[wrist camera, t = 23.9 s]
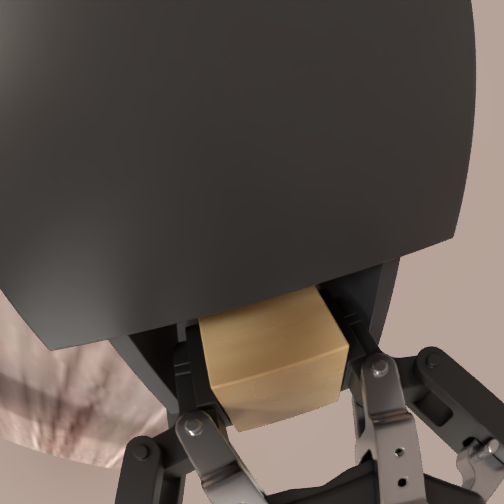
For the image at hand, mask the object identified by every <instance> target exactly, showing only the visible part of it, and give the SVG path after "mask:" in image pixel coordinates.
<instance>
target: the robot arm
mask: <svg viewBox="0 0 504 504" xmlns="http://www.w3.org/2000/svg"><path fill="white" fill-rule="evenodd" d="M318 292H319V293H320V295H321V297H322V298H323V300H324V302H325V304H326V305H327V307H328V309H329V311H330V312H331V314H332V316H333V317H334V319H335V321H336V323H337V324H338V326H339V328H340V330H341V331H342V333H343V335H344V337H345V339H346V340H347V342H348V344H349V351H348V356H347V361H346V366H345V371H344V376H343V381H342V385H341V390H342V391H343V390H345V389H348V388H349V389H350V391H351V393H352V406H353V415H354V424H355V435H356V445H355V463H356V466H355V467H352V468H350V469H348V470H346V471H345V472H343V473H341V474H340V475H339V476H337V477H336V478H334V479H333V480H331V481H330V482H328V483H326V484H325V485H323V486H320V487H312V488H301V489H290V490H287V491H283V492H279V493H276V494H272V495H267V494H266V493H265V491H264V490H263V489H262V487H261V486H260V485H259V483H258V482H257V481H256V479H255V478H254V477H253V475H252V474H251V473H250V471H249V470H248V469H247V467H246V466H245V464H244V463H243V461H242V460H241V459H240V457H239V455H238V454H237V452H236V451H235V449H234V448H233V446H232V445H231V443H230V442H229V439H228V435H227V431H226V426H229V425H232V424H231V420H230V419H229V417H228V416H227V414H226V412H225V411H224V409H223V407H222V406H221V404H220V403H219V401H218V399H217V398H216V396H215V394H214V393H213V391H212V389H211V387H210V382H209V377H208V371H207V366H206V361H205V355H204V350H203V344H202V338H201V332H200V326H199V324H195V325H191V326H187V327H185V332H186V341H182V342H178V343H176V346H175V349H174V352H173V363H174V373H175V382H176V390H177V398H178V406H179V415H178V419H177V421H176V422H175V424H174V425H173V426H172V427H171V428H170V429H168V430H167V431H165V432H163V433H161V434H159V435H157V436H155V437H153V438H150V437H148V436H137V437H135V438H133V439H132V440H131V441H129V443H128V444H127V446H126V449H125V453H124V458H123V463H122V468H121V473H120V478H119V483H118V488H117V493H116V499H115V504H182V501H183V494H184V486H185V477H186V474H188V473H190V472H192V471H194V470H196V471H197V473H198V475H199V477H200V479H201V481H202V482H201V485H202V488H203V490H204V492H205V493H206V495H207V497H208V498H209V500H210V502H211V503H212V504H486V502H487V500H488V499H489V498H490V497H491V495H492V494H493V493H494V491H495V490H496V488H497V487H498V486H499V484H500V483H501V482H502V480H503V479H504V403H503V402H502V401H501V400H499V399H498V398H497V397H496V396H495V395H494V394H493V393H492V392H490V391H489V390H488V389H487V388H486V387H485V386H483V385H482V384H481V383H480V382H479V381H478V380H477V379H475V378H474V377H473V376H472V375H471V374H470V373H469V372H467V371H466V370H465V369H464V368H463V367H462V366H460V365H459V364H458V363H457V362H456V361H454V360H453V359H452V358H451V357H450V356H448V355H447V354H446V353H445V352H444V351H442V350H441V349H439V348H437V347H426V348H424V349H422V350H421V351H420V352H419V353H418V355H417V356H411V357H404V358H394V357H391V356H389V355H387V354H385V353H383V352H382V351H381V350H380V349H379V347H378V345H377V344H376V342H375V341H374V339H373V337H372V336H371V334H370V333H369V331H368V330H367V328H366V326H365V325H364V323H363V322H362V321H361V319H360V317H359V315H358V314H357V312H356V311H355V309H354V308H353V306H352V305H351V303H350V302H348V301H347V300H346V299H344V298H343V297H341V296H339V297H336V298H333V297H332V296H331V294H330V293H329V291H328V290H327V289H326V288H323V289H319V290H318ZM406 406H407V407H408V408H410V409H411V410H412V411H413V412H414V413H415V414H416V415H417V416H418V417H419V418H420V419H421V420H422V421H423V422H424V423H426V425H428V426H429V427H430V428H431V429H432V430H433V431H434V432H435V433H436V434H437V435H438V436H439V437H440V438H441V439H442V440H443V441H445V443H447V444H448V445H449V446H450V447H451V448H452V449H453V450H454V451H455V452H456V453H457V454H458V456H457V460H456V466H457V469H458V470H459V471H460V473H461V475H462V477H463V485H462V487H460V486H457V485H454V484H451V483H448V482H446V481H443V480H440V479H438V478H435V477H432V476H430V475H427V474H425V473H423V468H422V461H421V454H420V447H419V441H418V435H417V430H416V424H415V420H414V417H413V415H412V414H411V413H409V412H408V411H407V409H406ZM394 453H397V454H398V457H397V456H395V454H394Z"/></svg>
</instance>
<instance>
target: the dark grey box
mask: <svg viewBox="0 0 504 504" xmlns="http://www.w3.org/2000/svg"><path fill="white" fill-rule="evenodd" d="M475 98H476V49H475V32H474V21H473V12H472V4H471V0H0V289H1V290H2V292H3V293H4V295H5V296H6V297H7V299H8V300H9V301H10V303H11V304H12V306H13V307H14V308H15V309H16V311H17V312H18V313H19V315H20V316H21V317H22V318H23V320H24V321H25V322H26V323H27V325H28V326H29V327H30V328H31V330H32V331H33V332H34V333H35V334H36V335H37V337H38V338H39V339H40V340H41V341H42V342H43V344H44V345H45V346H46V347H47V348H48V349H49V350H51V351H53V350H58V349H63V348H69V347H74V346H79V345H84V344H89V343H93V342H98V341H103V340H108V339H112V338H117V337H121V336H126V335H130V334H135V333H139V332H143V331H148V330H152V329H156V328H160V327H164V326H169V325H173V324H177V323H181V322H185V321H189V320H193V319H197V318H200V317H204V316H208V315H212V314H216V313H219V312H223V311H227V310H231V309H234V308H238V307H242V306H245V305H249V304H252V303H256V302H259V301H263V300H266V299H270V298H273V297H277V296H280V295H284V294H287V293H290V292H294V291H297V290H300V289H304V288H307V287H310V286H313V285H317V284H320V283H323V282H326V281H329V280H333V279H336V278H339V277H342V276H345V275H348V274H351V273H354V272H357V271H360V270H363V269H366V268H369V267H372V266H375V265H378V264H381V263H384V262H387V261H390V260H393V259H396V258H399V257H401V256H404V255H407V254H410V253H413V252H416V251H418V250H421V249H424V248H426V247H429V246H432V245H435V244H437V243H440V242H443V241H445V240H448V239H451V238H453V236H454V233H455V229H456V225H457V221H458V217H459V213H460V208H461V204H462V199H463V194H464V189H465V184H466V178H467V173H468V166H469V160H470V153H471V146H472V136H473V127H474V114H475Z"/></svg>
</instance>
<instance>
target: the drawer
mask: <svg viewBox="0 0 504 504" xmlns="http://www.w3.org/2000/svg"><path fill="white" fill-rule="evenodd" d="M399 261H400V257H399V258H396V259H393V260H390V261H387V262H384V263H381V264H378V265H375V266H372V267H369V268H366V269H363V270H360V271H357V272H354V273H351V274H348V275H345V276H342V277H339V278H336V279H333V280H329V281H326V282H323V283H320V284H317V285H315V287H316V288H317V290H319V289H323V288H326V289H327V290H328V291H329V293H330V294H331V296H332V297H333V298H336V297H339V296H341V297H343V298H344V299H346V300H347V301H348V302H350V303H351V305H352V306H353V308H354V309H355V311H356V312H357V314H358V315H359V317H360V319H361V321H362V322H363V323H364V325H365V326H366V328H367V330H368V331H369V333H370V334H371V336H372V337H373V339H374V341H375V342H376V344H377V345H378V344H379V341H380V337H381V334H382V330H383V327H384V323H385V319H386V316H387V312H388V309H389V304H390V301H391V297H392V293H393V288H394V284H395V279H396V275H397V271H398V266H399ZM195 324H199V320H198V318H197V319H193V320H189V321H185V322H181V323H177V324H173V325H169V326H164V327H160V328H156V329H152V330H148V331H143V332H139V333H135V334H130V335H126V336H121V337H117V338H112V339H108V340H109V342H110V343H111V344H112V346H113V347H114V348H115V349H116V351H117V352H118V353H119V355H120V356H121V357H122V358H123V360H124V361H125V362H126V363H127V364H128V366H129V367H130V368H131V369H132V370H133V372H134V373H135V374H136V375H137V376H138V378H139V379H140V380H141V381H142V382H143V383H144V384H145V386H146V387H147V388H148V389H149V390H150V391H151V392H152V393H153V395H154V396H155V397H156V398H157V399H158V400H159V401H160V402H161V403H162V404H163V405H164V406H165V407H166V409H167V418H168V427H169V429H170V428H171V427H172V426H173V425H174V424H175V422H176V421H177V419H178V415H179V406H178V398H177V390H176V382H175V373H174V363H173V352H174V349H175V346H176V343H178V342H182V341H186V332H185V327H187V326H191V325H195ZM340 391H342V390H340ZM231 424H232V425H233V423H232V422H231ZM229 426H231V425H229ZM226 427H227V426H226Z"/></svg>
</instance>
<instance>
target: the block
mask: <svg viewBox="0 0 504 504" xmlns="http://www.w3.org/2000/svg"><path fill="white" fill-rule="evenodd" d="M198 320H199V326H200V332H201V338H202V344H203V350H204V355H205V361H206V366H207V371H208V377H209V382H210V387H211V389H212V391H213V393H214V394H215V396H216V398H217V399H218V401H219V403H220V404H221V406H222V407H223V409H224V411H225V412H226V414H227V416H228V417H229V419H230V420H231V422H232V423H233V425H234V426H235V428H236V430H237V431H238V432H241V431H245V430H249V429H253V428H257V427H261V426H264V425H268V424H271V423H275V422H278V421H281V420H285V419H287V418H291V417H294V416H297V415H300V414H303V413H306V412H309V411H312V410H315V409H318V408H320V407H323V406H326V405H329V404H331V403H333V402H336V401H338V398H339V394H340V390H341V385H342V381H343V376H344V371H345V366H346V361H347V356H348V351H349V344H348V342H347V340H346V339H345V337H344V335H343V333H342V331H341V330H340V328H339V326H338V324H337V323H336V321H335V319H334V317H333V316H332V314H331V312H330V311H329V309H328V307H327V305H326V304H325V302H324V300H323V298H322V297H321V295H320V293H319V292H318V290H317V288H316V287H315V285H313V286H310V287H307V288H304V289H300V290H297V291H294V292H290V293H287V294H284V295H280V296H277V297H273V298H270V299H266V300H263V301H259V302H256V303H252V304H249V305H245V306H242V307H238V308H234V309H231V310H227V311H223V312H219V313H216V314H212V315H208V316H204V317H200V318H198Z"/></svg>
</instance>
